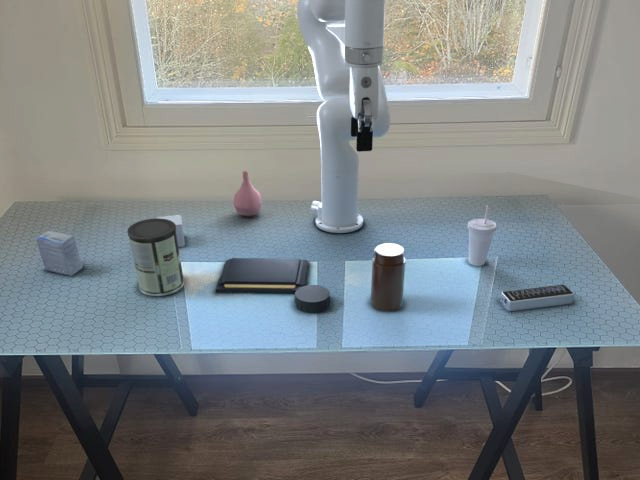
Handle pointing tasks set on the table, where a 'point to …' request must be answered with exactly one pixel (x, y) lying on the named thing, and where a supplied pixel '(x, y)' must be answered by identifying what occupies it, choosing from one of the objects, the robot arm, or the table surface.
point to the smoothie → (480, 239)
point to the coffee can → (156, 256)
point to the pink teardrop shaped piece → (247, 198)
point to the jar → (388, 277)
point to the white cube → (177, 228)
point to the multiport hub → (536, 297)
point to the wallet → (263, 275)
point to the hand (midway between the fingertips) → (361, 143)
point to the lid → (312, 298)
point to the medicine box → (59, 253)
